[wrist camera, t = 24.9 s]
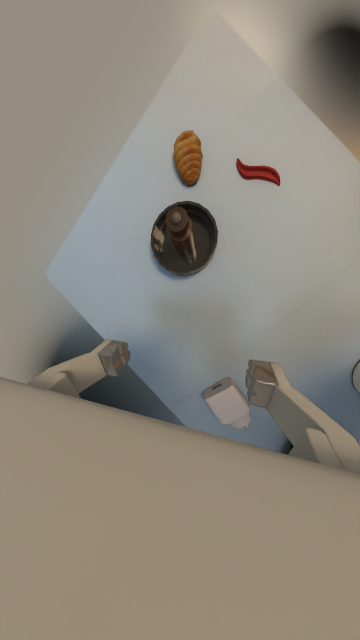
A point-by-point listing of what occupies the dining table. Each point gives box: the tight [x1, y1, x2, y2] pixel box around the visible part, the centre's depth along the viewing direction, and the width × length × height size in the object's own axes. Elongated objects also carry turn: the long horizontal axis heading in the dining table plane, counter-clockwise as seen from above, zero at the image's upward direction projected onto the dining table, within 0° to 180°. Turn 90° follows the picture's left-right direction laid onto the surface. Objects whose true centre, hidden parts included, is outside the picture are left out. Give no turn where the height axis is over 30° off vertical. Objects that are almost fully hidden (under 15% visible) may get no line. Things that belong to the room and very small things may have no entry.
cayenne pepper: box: [237, 158, 280, 186], centre depth 34 cm, size 12×5×2 cm, turn 51°
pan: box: [151, 201, 218, 276], centre depth 37 cm, size 16×16×4 cm
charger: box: [204, 377, 251, 431], centre depth 42 cm, size 5×9×15 cm
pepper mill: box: [165, 207, 195, 255], centre depth 32 cm, size 5×5×14 cm
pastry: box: [174, 130, 203, 185], centre depth 35 cm, size 9×7×4 cm
